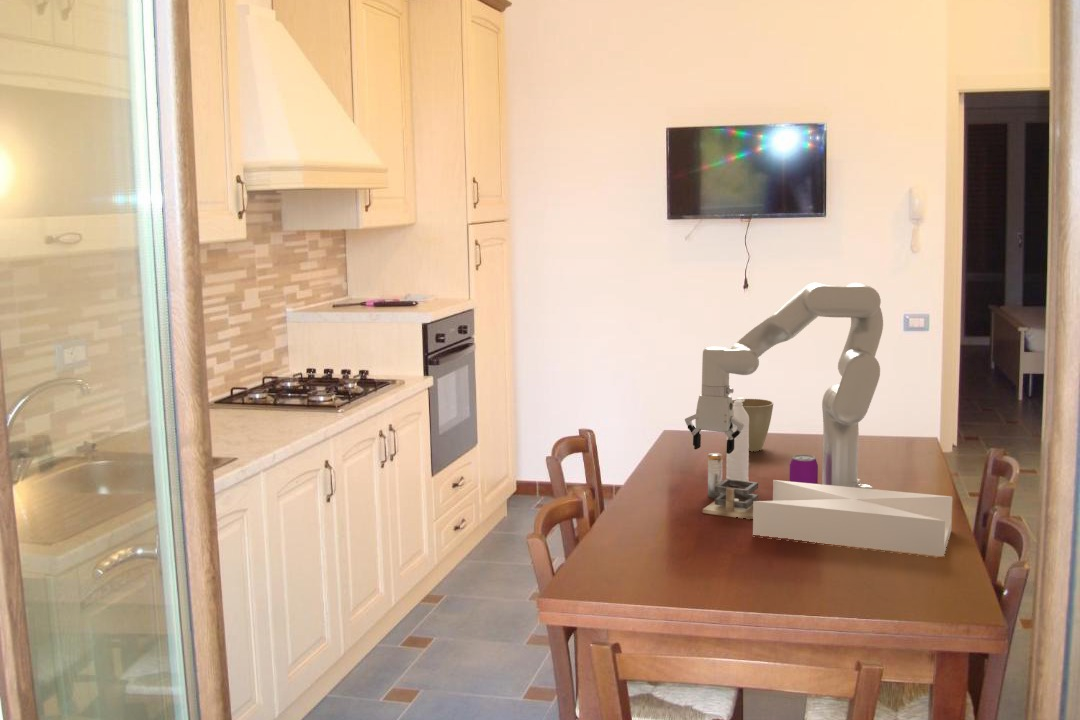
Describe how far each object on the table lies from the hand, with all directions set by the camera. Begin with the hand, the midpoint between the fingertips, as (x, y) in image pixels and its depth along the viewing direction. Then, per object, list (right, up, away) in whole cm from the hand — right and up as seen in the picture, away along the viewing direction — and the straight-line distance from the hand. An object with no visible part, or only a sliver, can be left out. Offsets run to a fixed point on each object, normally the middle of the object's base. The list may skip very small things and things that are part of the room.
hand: (713, 450), depth 306 cm
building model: (+30, -19, -34) cm, 49 cm away
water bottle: (+10, -11, +15) cm, 21 cm away
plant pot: (+21, -4, +56) cm, 61 cm away
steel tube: (+1, -13, +2) cm, 13 cm away
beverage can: (+25, -14, -3) cm, 28 cm away
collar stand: (+4, -15, -12) cm, 20 cm away
